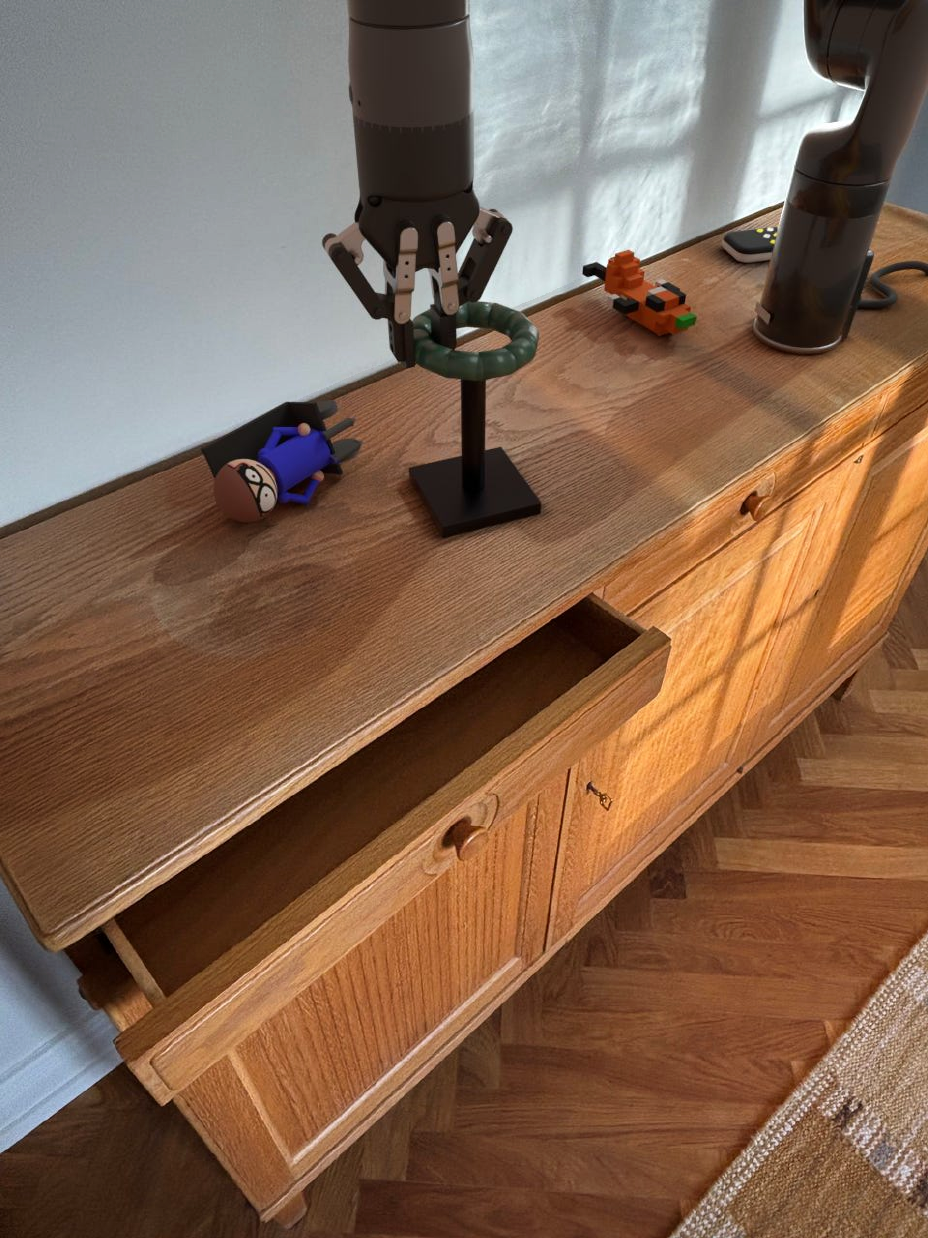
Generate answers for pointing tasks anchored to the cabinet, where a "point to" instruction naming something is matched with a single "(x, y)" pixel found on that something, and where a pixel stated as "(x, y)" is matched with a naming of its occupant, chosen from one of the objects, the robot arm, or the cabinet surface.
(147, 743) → the cabinet surface
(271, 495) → the character figurine
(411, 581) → the cabinet surface
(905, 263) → the robot arm
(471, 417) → the post
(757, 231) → the remote control
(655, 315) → the toy
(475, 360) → the ring
